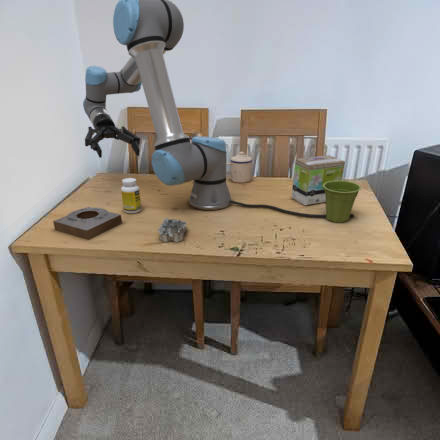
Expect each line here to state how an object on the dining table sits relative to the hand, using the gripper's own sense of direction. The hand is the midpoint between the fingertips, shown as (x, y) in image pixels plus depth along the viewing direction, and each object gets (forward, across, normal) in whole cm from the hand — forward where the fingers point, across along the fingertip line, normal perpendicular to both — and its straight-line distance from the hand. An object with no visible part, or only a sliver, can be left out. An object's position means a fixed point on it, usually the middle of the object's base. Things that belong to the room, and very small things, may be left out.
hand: (119, 153), depth 145 cm
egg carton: (+42, -4, -3) cm, 42 cm away
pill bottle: (+17, 0, -13) cm, 21 cm away
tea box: (+37, -63, 0) cm, 73 cm away
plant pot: (+55, -57, +6) cm, 79 cm away
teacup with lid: (+4, -51, -13) cm, 52 cm away
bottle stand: (+23, +17, -12) cm, 31 cm away
